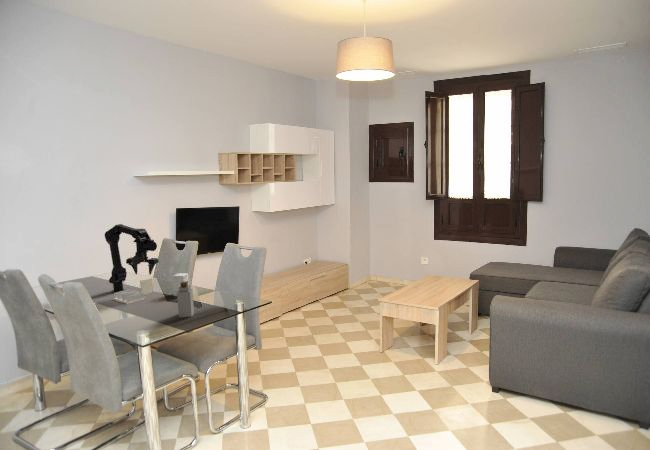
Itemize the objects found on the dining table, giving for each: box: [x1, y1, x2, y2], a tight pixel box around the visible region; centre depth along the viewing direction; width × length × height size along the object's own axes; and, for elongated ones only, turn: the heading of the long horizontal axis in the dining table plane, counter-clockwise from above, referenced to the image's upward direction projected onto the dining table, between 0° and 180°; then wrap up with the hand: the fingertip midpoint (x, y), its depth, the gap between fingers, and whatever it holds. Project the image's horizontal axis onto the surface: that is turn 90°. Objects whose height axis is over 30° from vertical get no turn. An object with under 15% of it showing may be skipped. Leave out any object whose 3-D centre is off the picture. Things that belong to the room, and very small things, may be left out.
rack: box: [112, 288, 146, 305], centre depth 298 cm, size 15×12×4 cm
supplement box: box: [172, 272, 190, 297], centre depth 305 cm, size 7×7×13 cm
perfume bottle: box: [176, 282, 195, 318], centre depth 264 cm, size 7×7×18 cm
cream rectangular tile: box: [139, 277, 154, 295], centre depth 311 cm, size 2×7×9 cm, turn 142°
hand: (143, 274), depth 305 cm, fingers open, 9 cm apart
